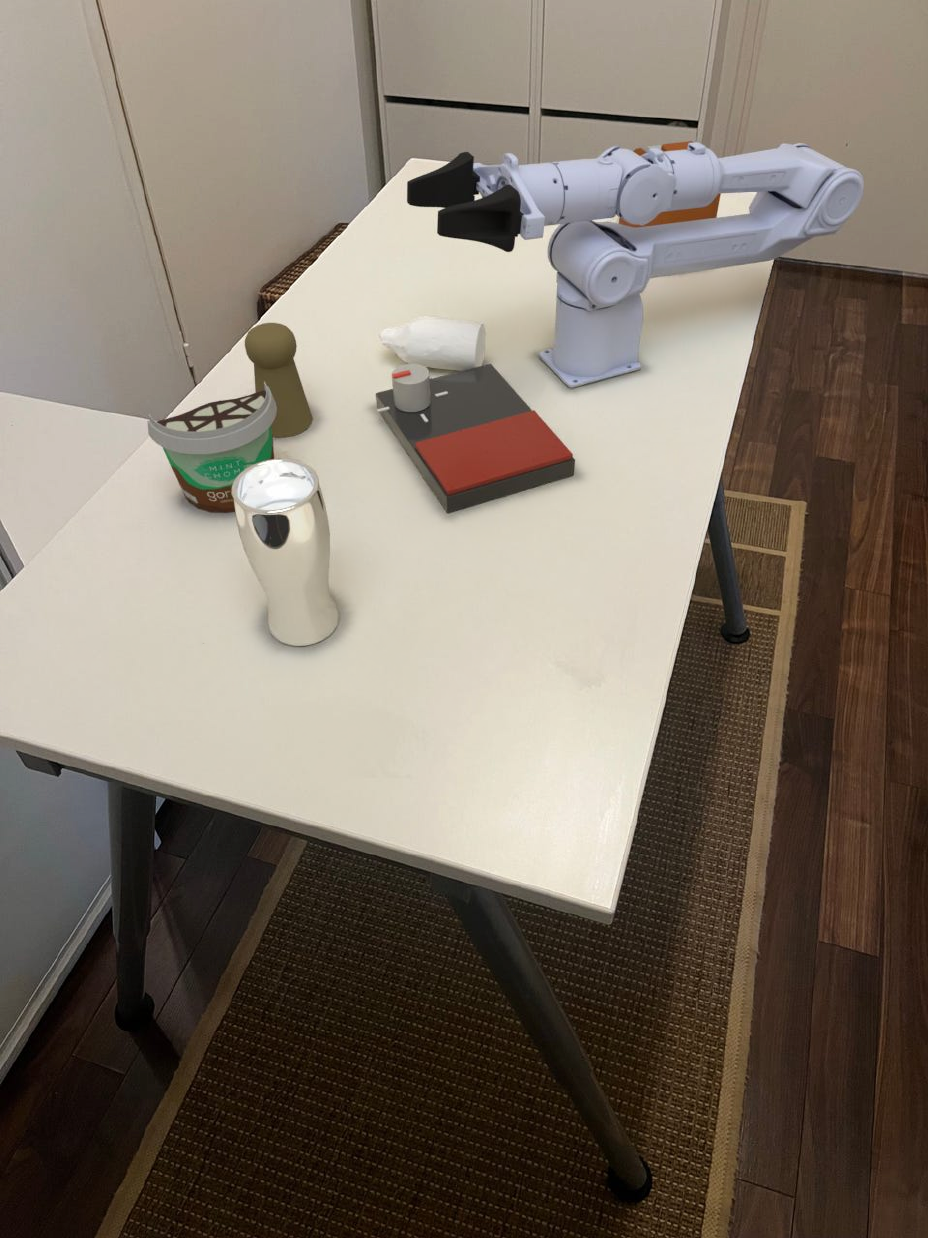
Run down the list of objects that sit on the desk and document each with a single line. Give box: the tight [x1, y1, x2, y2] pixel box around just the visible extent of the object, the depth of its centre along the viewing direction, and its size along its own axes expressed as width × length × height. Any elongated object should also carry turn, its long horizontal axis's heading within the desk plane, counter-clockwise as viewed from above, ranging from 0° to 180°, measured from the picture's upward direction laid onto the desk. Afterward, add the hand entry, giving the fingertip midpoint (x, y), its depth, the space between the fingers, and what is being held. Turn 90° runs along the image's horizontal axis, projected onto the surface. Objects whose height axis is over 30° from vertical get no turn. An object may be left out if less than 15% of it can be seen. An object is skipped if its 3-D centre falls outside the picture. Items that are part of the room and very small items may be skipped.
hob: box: [375, 363, 576, 514], centre depth 98 cm, size 15×21×2 cm
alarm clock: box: [618, 140, 722, 228], centre depth 124 cm, size 15×8×14 cm, turn 13°
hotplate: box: [415, 409, 574, 495], centre depth 93 cm, size 14×9×1 cm, turn 114°
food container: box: [147, 381, 277, 514], centre depth 89 cm, size 12×6×10 cm, turn 117°
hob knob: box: [391, 363, 431, 412], centre depth 99 cm, size 4×4×4 cm
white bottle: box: [378, 315, 487, 372], centre depth 107 cm, size 6×12×6 cm, turn 77°
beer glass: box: [232, 458, 340, 647], centre depth 75 cm, size 7×7×15 cm
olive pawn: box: [244, 322, 314, 438], centre depth 98 cm, size 6×6×11 cm
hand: (423, 207), depth 87 cm, fingers open, 7 cm apart
